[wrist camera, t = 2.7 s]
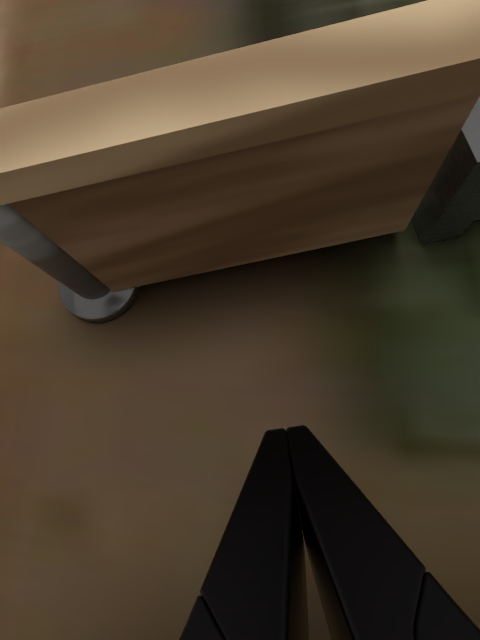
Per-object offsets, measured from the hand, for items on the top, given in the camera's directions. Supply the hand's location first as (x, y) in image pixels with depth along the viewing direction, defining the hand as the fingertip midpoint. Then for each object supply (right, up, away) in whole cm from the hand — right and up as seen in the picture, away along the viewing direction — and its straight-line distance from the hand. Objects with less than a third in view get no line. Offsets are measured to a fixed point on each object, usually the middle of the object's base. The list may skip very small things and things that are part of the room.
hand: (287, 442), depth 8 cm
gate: (-1, +6, +12) cm, 13 cm away
